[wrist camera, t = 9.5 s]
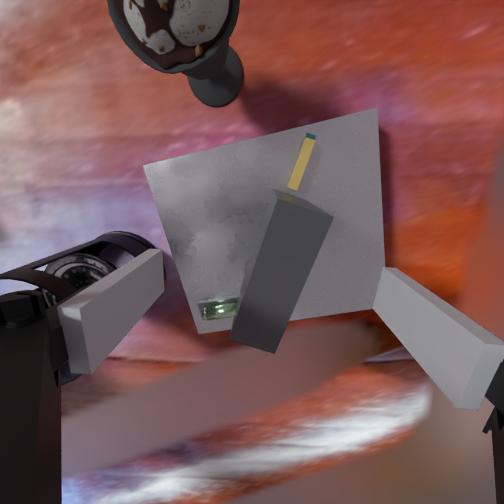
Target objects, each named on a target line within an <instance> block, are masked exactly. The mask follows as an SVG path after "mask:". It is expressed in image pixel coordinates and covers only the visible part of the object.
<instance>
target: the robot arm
mask: <svg viewBox="0 0 504 504" xmlns="http://www.w3.org/2000/svg"><path fill="white" fill-rule="evenodd" d="M163 292H164V273H163V254H162V250H161V249H148V250H147V251H145V252H143V253H142V254H140V255H139V256H137V257H135V258H134V259H132V260H131V261H129V262H128V263H126V264H124V265H123V266H121V267H120V268H118V269H116V270H115V271H113V272H112V273H110V274H108V275H107V276H105V277H104V278H102V279H101V280H99V281H97V282H95V283H93V284H90V285H87V286H84V287H83V288H81V289H79V290H78V291H76V292H75V294H74V293H73V294H71V295H70V296H68V297H67V298H65V299H63V300H61V301H60V302H58V303H56V304H55V305H53V306H52V307H50V308H48V309H47V310H45V306H44V301H43V297H42V294H41V292H39V291H36V290H24V291H16V292H12V293H7V294H4V295H1V296H0V504H62V490H61V374H60V370H59V368H60V367H61V366H62V365H63V364H64V363H65V362H66V361H67V360H68V361H69V366H70V371H71V373H77V374H88V375H92V374H93V372H94V371H95V370H96V369H97V368H98V367H99V366H100V364H101V363H102V362H103V361H104V360H105V359H106V358H107V356H108V355H109V354H110V353H111V352H112V351H113V349H114V348H115V347H116V346H117V345H118V344H119V343H120V341H121V340H122V339H123V338H124V337H125V336H126V335H127V333H128V332H129V331H130V330H131V329H132V328H133V326H134V325H135V324H136V323H137V322H138V321H139V320H140V318H141V317H142V316H143V315H144V314H145V313H146V312H147V310H148V309H149V308H150V307H151V306H152V305H153V303H154V302H155V301H156V300H157V299H158V298H159V297H160V295H161V294H162V293H163ZM373 309H374V310H375V312H376V313H377V314H378V315H379V316H380V318H381V319H382V320H383V321H384V322H385V324H386V325H387V326H388V327H389V328H390V330H391V331H392V332H393V333H394V334H395V336H396V337H397V338H398V339H399V340H400V342H401V343H402V344H403V345H404V346H405V348H406V349H407V350H408V351H409V352H410V354H411V355H412V356H413V357H414V358H415V360H416V361H417V362H418V363H419V364H420V366H421V367H422V368H423V369H424V370H425V372H426V373H427V374H428V375H429V376H430V378H431V379H432V380H433V381H434V382H435V384H436V385H437V386H438V387H439V388H440V390H441V391H442V392H443V393H444V394H445V396H446V397H447V398H448V399H449V400H450V402H451V403H452V404H453V405H454V406H455V408H457V409H468V410H479V408H480V406H481V404H482V402H483V400H484V398H485V397H486V398H487V399H488V400H489V401H490V402H491V403H492V404H493V405H494V406H495V407H494V409H493V411H492V413H491V415H490V417H489V419H488V421H487V423H486V425H485V427H484V429H483V432H484V433H486V434H487V432H488V431H489V430H492V443H493V456H494V471H495V486H496V499H497V500H496V501H497V504H504V341H503V340H501V339H500V338H498V337H497V336H496V335H494V334H492V333H491V332H490V331H488V330H487V329H485V328H484V327H482V326H480V325H479V324H478V323H476V322H475V321H474V320H472V319H471V318H469V317H467V316H466V315H464V314H463V313H461V312H460V311H458V310H457V309H456V308H454V307H453V306H451V305H450V304H448V303H447V302H445V301H444V300H442V299H441V298H439V297H438V296H437V295H435V294H434V293H432V292H431V291H429V290H428V289H426V288H425V287H423V286H422V285H420V284H419V283H418V282H416V281H415V280H413V279H412V278H410V277H409V276H407V275H406V274H404V273H403V272H401V271H400V270H398V269H397V268H390V267H383V270H382V273H381V277H380V281H379V285H378V289H377V293H376V297H375V301H374V304H373Z"/></svg>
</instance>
